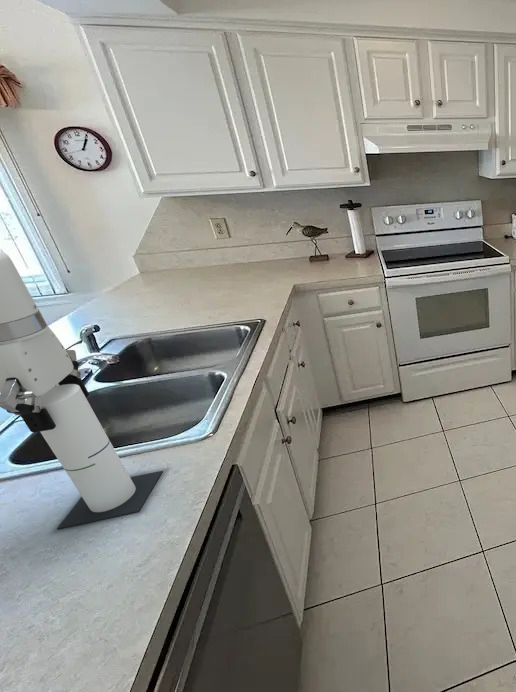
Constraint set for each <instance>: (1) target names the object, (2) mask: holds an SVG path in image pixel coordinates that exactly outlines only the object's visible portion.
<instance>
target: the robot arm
mask: <svg viewBox="0 0 516 692" xmlns="http://www.w3.org/2000/svg"><path fill="white" fill-rule="evenodd" d="M81 376H82V372H81V371H80V370H79V362H78V360H77V353H76V350H75V349H66V348H65V346H64V345H63V344H62V342H61V341H60V339H59V338H58V336H57V335H56V334H55V332H54V331H53V330H52V329H51V328H50V327H49V325H48V323H47V321H46V320H45V318H44V317H43V315H42V313H41V311H40V309H39V307H38V306H37V304H36V302H35V300H34V298H33V297H32V295H31V293H30V291H29V289H28V287H27V285H26V284H25V282H24V279H23V278H22V276H21V275H20V272H19V271H18V269H17V267H16V266H15V264H14V262H13V260H12V259H11V258H10V256H9V255H8V254H7V253H6V252H4V251H2V250H0V408H1V409H3V410H5V411H6V412H7V413H9V414H14V415H15V416H20V418H21V419H22V420H23V422H24V424H25V425H26V427H27V429H29V431H30V432H31V433H41V432H40V431H46V430H52V429H54V428H55V427H56V424H55V423H54V421H53V420H52V418H51V416H50V415H49V413H48V411H47V410H46V408H43V409H41V400H42V395H44V394H45V393H47V392H48V391H49V390H50V389H52V388H53V387H56V386H60V385H66V384H76V385H79V386H80V388H81V390H82V392H83V394H84V395H85V397H86V398H88V397H89V396H90V392H89V390H88V388H87V387H86V386H85V384H84V381H83V380H82V378H81ZM28 392H29V393H28ZM31 398H32V400H31V405H28V404H25V400H27V399H31Z"/></svg>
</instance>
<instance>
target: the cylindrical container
mask: <svg viewBox="0 0 516 692" xmlns="http://www.w3.org/2000/svg"><path fill="white" fill-rule="evenodd" d="M31 400H32V398H31V399H25V404H28V405H31ZM43 408H46V410H47V411H48V413H49V415H50V416H51V418H52V420H53V421H54V423H55V424H56V427H55V428H54V429H52V430H46V431H40V432H39V433H40V434H41V436H42V437H43V439H44V440H45V442H46V443H47V445H48V446H49V448H50V449H51V451H52V453H53V454H54V455H55V457H56V459H57V460H58V462H59V463H60V465H61V466H62V468H63V470H64V472H65V473H66V474H67V476H68V477H69V479H70V481H71V482H72V484H73V485H74V487H75V488H76V490H77V491H78V493H79V494H80V496H81V497H82V498H83V499H84V501H85V502H86V504H87V505H88V507H89V508H90V510H91V511H93V512H104V511H108V510H111V509H113V508H115V507H117V506H119V505H121V504H123V503H124V502H126V501H127V500H128V499H129V498H130V497H131V496H132V495H133V494H134V493H135V490H136V487H135V485H134V483H133V482H132V480H131V478H130V477H131V476H130V475H129V473H128V471H127V469H126V467H125V465H124V463H123V462H122V460H121V458H120V457H119V455H118V452H117V451H116V449H115V448H114V445H113V444H112V442H111V440H110V439H109V436H108V435H107V433H106V431H105V430H104V427H103V426H102V424H101V422H100V421H99V418H98V417H97V415H96V413H95V412H94V410H93V408H92V407H91V404H90V403H89V401H88V399H87V397H85V395H84V394H83V392H82V390H81V388H80V386H79V385H76V384H66V385H55V386H54V387H53V388H52V389H50V390H49V391H48V392H47V393H45V394H44V395H42V400H41V409H43Z"/></svg>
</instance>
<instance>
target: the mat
mask: <svg viewBox="0 0 516 692" xmlns="http://www.w3.org/2000/svg"><path fill="white" fill-rule="evenodd" d="M163 473H164V470H159V471H155V472H148V473H144V474H139V475H134V476H130V478H131V480H132V482H133V483H134V485H135V487H136V490H135V493H134V494H133V495H132V496H131V497H130V498H129V499H128V500H127V501H126V502H124V503H123V504H121V505H119V506H117V507H115V508H113V509H111V510H108V511H104V512H93V511H91V510H90V508H89V507H88V505H87V504H86V502H85V501H84V499H83V498H82V496H81V497H80V498H79V499H78V501H77V502H76V503H75V504H74V506H73V507H72V508H71V510H70V511H69V512H68V513H67V514H66V515H65V518H63V520H62V521H61V523H60V524H59V525H58V526H57V528H56V529H57V530H62V529H66V528H72V527H76V526H81V525H86V524H90V523H94V522H99V521H104V520H107V519H108V520H109V519H113V518H119V517H122V516H126V515H131V514H137V513H139V512H140V511H141V510H142V508H143V506H144V505H145V503H146V502H147V500H148V498H149V497H150V495H151V493H152V491H153V489H154V488H155V486H156V484H157V483H158V481H159V480H160V478H161V476H162V474H163Z"/></svg>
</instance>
